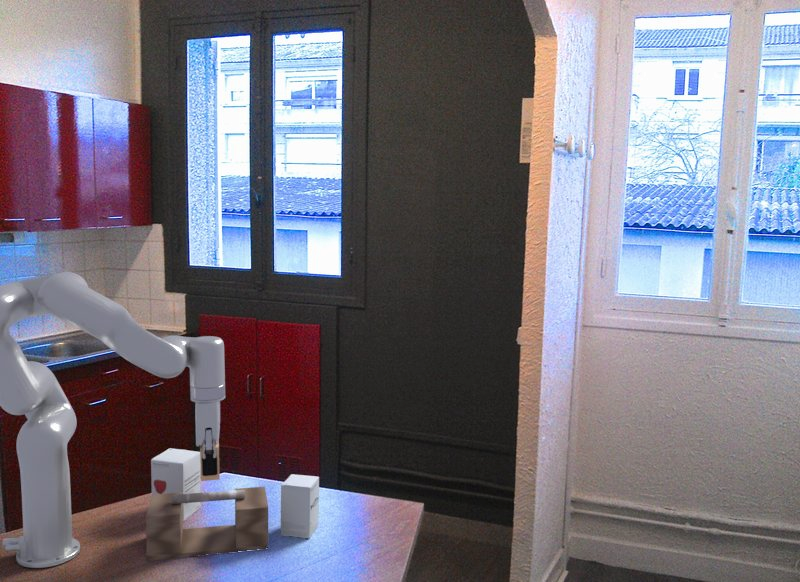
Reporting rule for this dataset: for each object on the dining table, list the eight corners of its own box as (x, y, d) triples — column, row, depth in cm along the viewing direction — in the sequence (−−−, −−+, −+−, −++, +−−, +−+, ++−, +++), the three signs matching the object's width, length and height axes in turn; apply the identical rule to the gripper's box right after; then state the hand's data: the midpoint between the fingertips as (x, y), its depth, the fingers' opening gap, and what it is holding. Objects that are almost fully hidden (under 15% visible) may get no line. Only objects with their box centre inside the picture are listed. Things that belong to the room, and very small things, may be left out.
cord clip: (200, 481, 162) (200, 448, 161) (201, 471, 168) (200, 439, 167) (219, 479, 163) (218, 447, 162) (219, 469, 169) (218, 438, 168)
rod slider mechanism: (146, 560, 159) (145, 508, 157) (151, 535, 170) (150, 486, 169) (268, 549, 165) (268, 498, 163) (264, 526, 177) (264, 478, 175)
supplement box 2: (309, 539, 170) (310, 487, 169) (279, 536, 172) (279, 484, 170) (319, 525, 178) (320, 476, 176) (290, 522, 179) (290, 473, 177)
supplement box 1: (150, 517, 180) (149, 459, 178) (170, 503, 188) (169, 447, 186) (183, 522, 178) (182, 463, 176) (202, 507, 186) (201, 450, 184)
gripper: (191, 383, 170) (194, 457, 173) (189, 403, 154) (191, 485, 156) (224, 381, 172) (226, 455, 175) (225, 401, 156) (227, 482, 158)
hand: (210, 468), depth 165 cm, fingers closed on cord clip, 6 cm apart
